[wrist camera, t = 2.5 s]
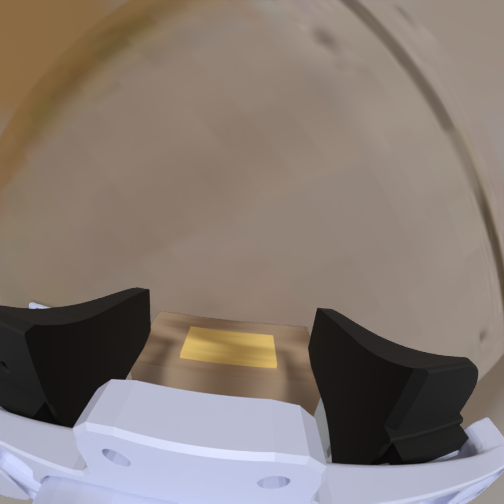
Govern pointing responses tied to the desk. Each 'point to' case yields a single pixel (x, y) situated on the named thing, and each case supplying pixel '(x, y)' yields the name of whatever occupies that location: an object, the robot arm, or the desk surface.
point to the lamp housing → (229, 359)
